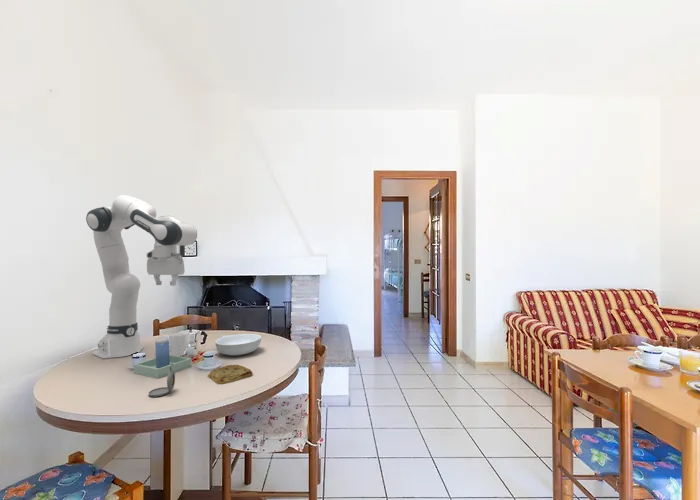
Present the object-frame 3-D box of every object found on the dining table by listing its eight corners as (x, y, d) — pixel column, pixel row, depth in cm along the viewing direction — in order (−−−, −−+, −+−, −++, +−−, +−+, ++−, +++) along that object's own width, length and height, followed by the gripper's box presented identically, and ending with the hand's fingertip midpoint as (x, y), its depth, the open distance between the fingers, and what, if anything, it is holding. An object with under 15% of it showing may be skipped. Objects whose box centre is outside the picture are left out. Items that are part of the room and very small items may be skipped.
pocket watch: (145, 394, 117) (145, 364, 117) (172, 386, 124) (171, 358, 124) (154, 400, 112) (153, 369, 112) (181, 392, 118) (180, 363, 118)
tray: (133, 373, 139) (133, 364, 139) (168, 362, 152) (168, 354, 152) (158, 378, 132) (157, 369, 132) (191, 366, 146) (191, 358, 146)
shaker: (153, 369, 141) (152, 339, 141) (164, 365, 146) (163, 336, 146) (161, 370, 139) (160, 340, 139) (172, 366, 143) (171, 337, 144)
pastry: (217, 369, 143) (217, 362, 143) (259, 369, 142) (258, 362, 142) (197, 385, 125) (197, 377, 126) (244, 385, 125) (244, 377, 125)
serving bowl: (228, 346, 177) (228, 333, 177) (267, 347, 174) (267, 333, 174) (206, 359, 156) (206, 343, 156) (250, 360, 153) (250, 344, 153)
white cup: (180, 358, 159) (180, 336, 159) (165, 357, 160) (165, 335, 160) (191, 353, 166) (191, 332, 166) (177, 352, 168) (177, 331, 168)
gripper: (188, 253, 149) (188, 285, 149) (157, 254, 158) (157, 284, 158) (175, 253, 143) (175, 286, 143) (143, 254, 152) (144, 285, 152)
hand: (165, 285), depth 150 cm, fingers open, 8 cm apart
